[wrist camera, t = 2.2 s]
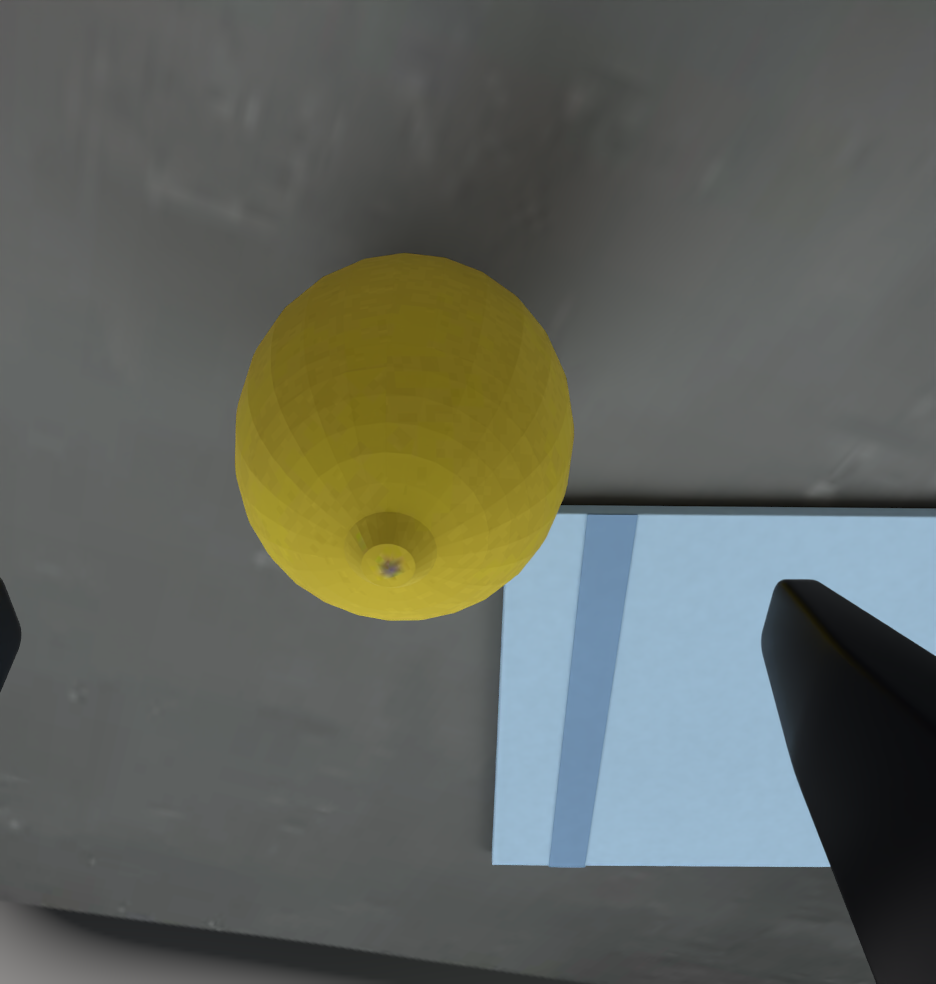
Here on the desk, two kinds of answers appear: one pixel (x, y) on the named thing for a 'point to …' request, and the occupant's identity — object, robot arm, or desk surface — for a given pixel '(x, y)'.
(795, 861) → the cloth
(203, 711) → the desk surface
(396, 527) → the lemon
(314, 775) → the desk surface
